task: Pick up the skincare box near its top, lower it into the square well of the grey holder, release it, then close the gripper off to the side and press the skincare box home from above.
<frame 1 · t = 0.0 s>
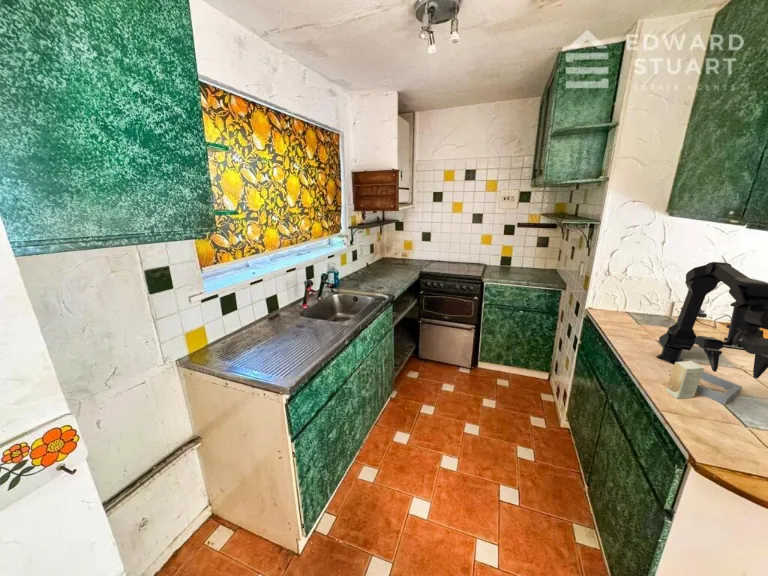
hand: (734, 374, 91), 15 cm above the worktop, tool pointing down, fingers open, 9 cm apart
skincare box: (678, 394, 106), on the worktop
holder: (706, 387, 109), on the worktop
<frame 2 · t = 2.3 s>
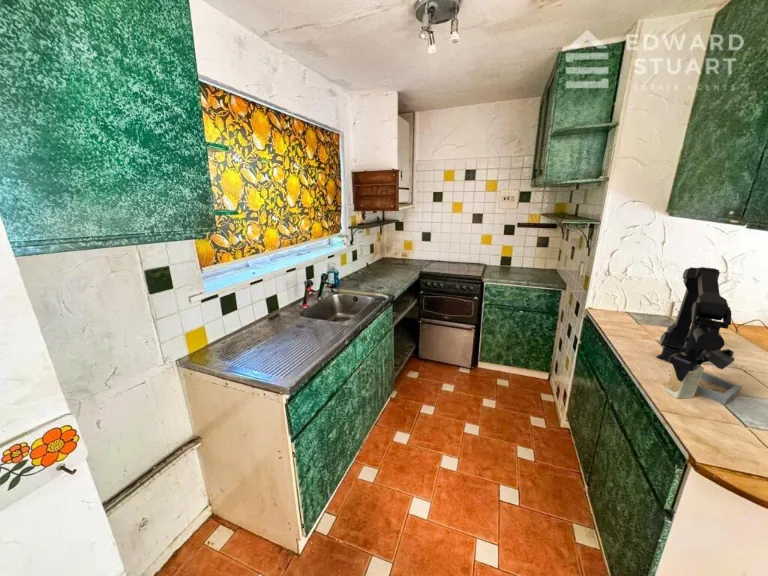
hand: (685, 377, 104), 7 cm above the worktop, tool pointing down, fingers closed on skincare box, 7 cm apart
skincare box: (678, 394, 106), on the worktop, touching gripper
when the fingers open (8 cm above the worktop, at t = 6.7 s): skincare box stays where it is, resting in holder.
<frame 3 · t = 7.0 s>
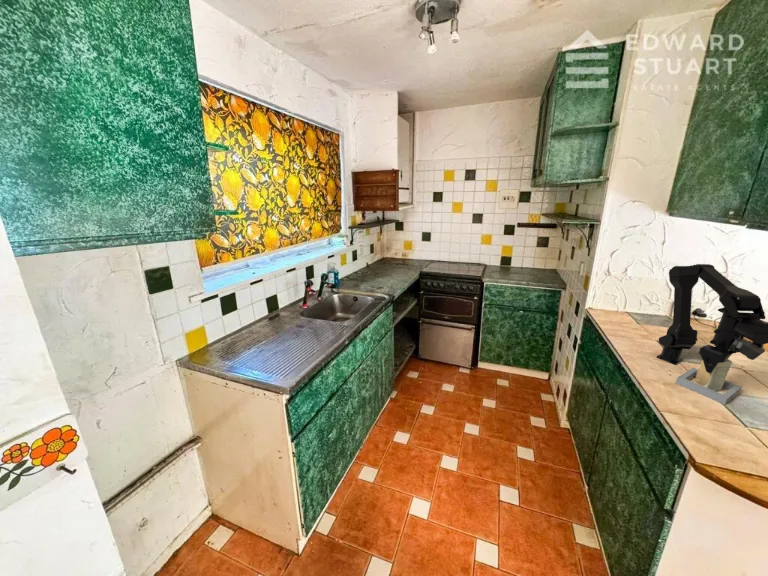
hand: (714, 368, 106), 8 cm above the worktop, tool pointing down, fingers open, 9 cm apart
skincare box: (706, 388, 109), resting in holder
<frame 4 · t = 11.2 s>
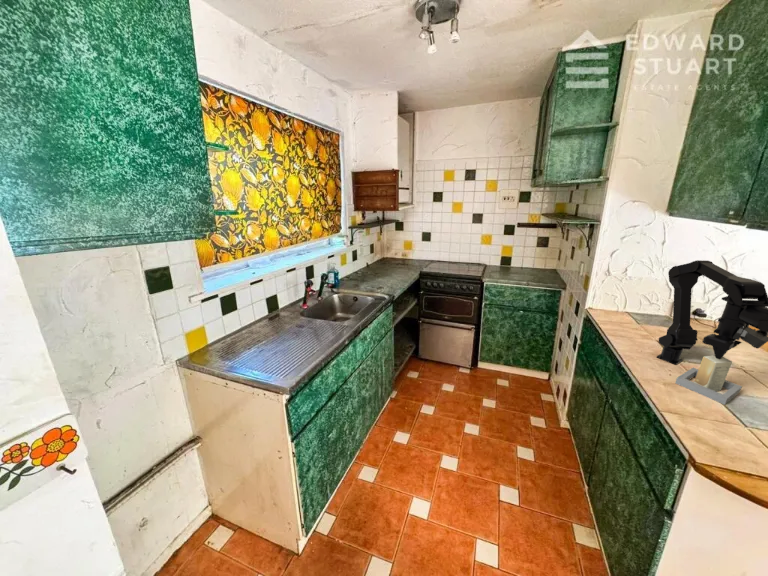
hand: (718, 358, 105), 12 cm above the worktop, tool pointing down, fingers closed, pressing on skincare box
skincare box: (705, 388, 109), resting in holder, touching gripper
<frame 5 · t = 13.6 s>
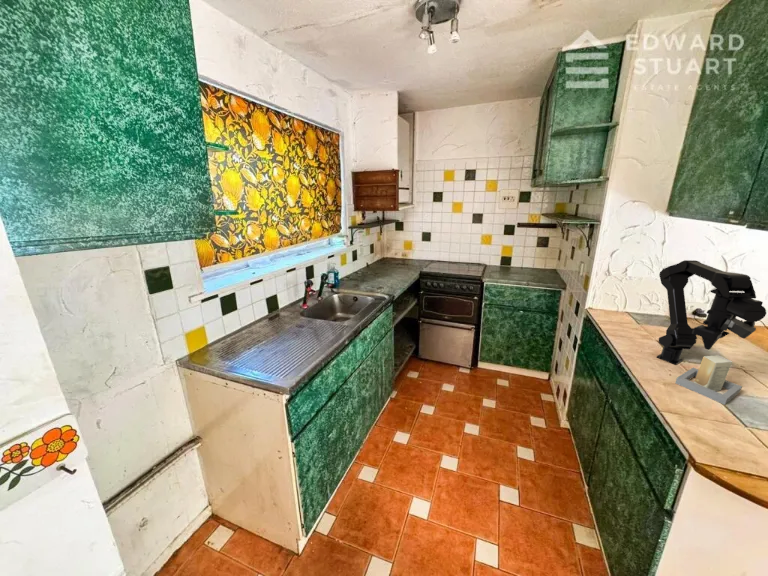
hand: (707, 348, 109), 13 cm above the worktop, tool pointing down, fingers closed
skincare box: (706, 388, 109), resting in holder
at the end: skincare box 0.2 cm from the holder (horizontally); skincare box resting in holder; skincare box tilted 0° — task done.
